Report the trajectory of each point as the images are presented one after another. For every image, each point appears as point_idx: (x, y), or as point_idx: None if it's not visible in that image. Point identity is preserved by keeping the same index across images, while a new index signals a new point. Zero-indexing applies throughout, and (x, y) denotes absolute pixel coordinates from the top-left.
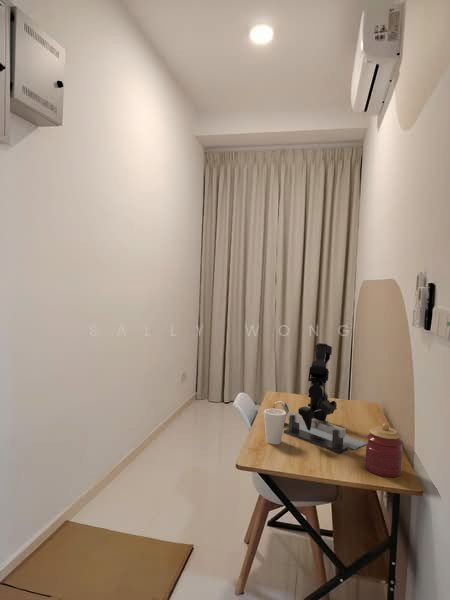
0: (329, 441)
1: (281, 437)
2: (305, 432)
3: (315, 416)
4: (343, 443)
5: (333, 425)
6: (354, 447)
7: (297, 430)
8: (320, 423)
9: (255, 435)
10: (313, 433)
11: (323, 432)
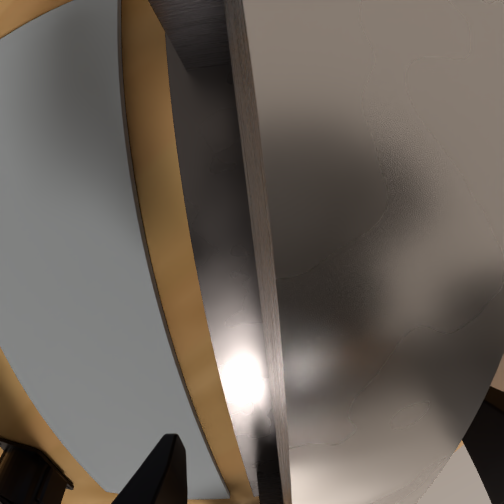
0: (220, 199)
1: (499, 381)
2: (255, 444)
3: (53, 499)
4: (81, 119)
5: (363, 16)
6: (82, 7)
7: (278, 471)
8: (472, 408)
9: (460, 443)
10: (180, 422)
11: (85, 397)
